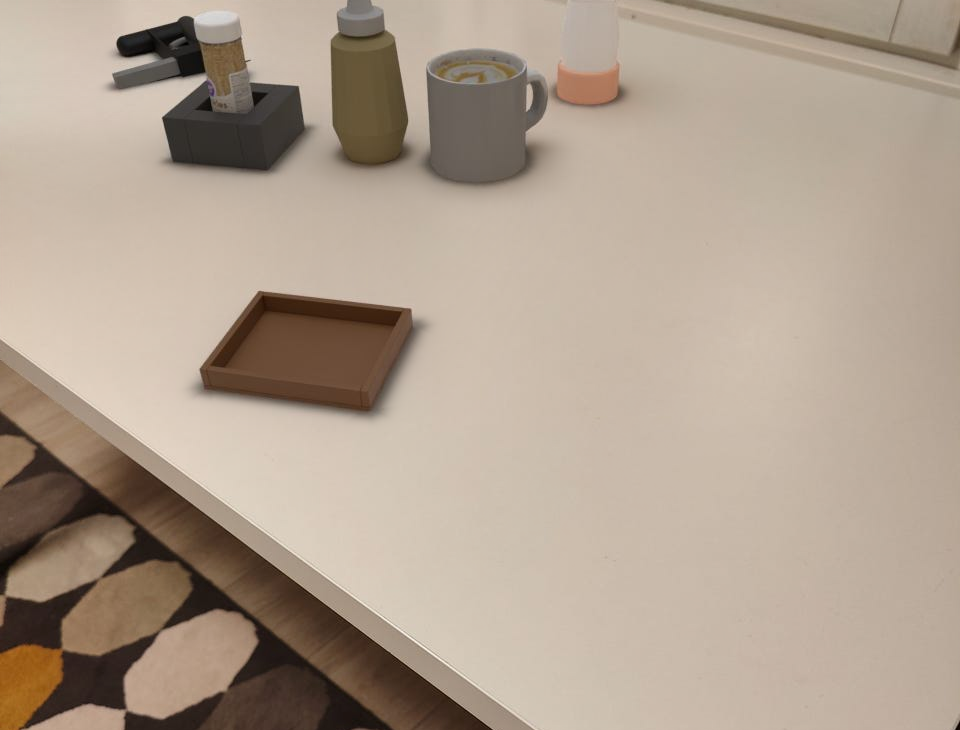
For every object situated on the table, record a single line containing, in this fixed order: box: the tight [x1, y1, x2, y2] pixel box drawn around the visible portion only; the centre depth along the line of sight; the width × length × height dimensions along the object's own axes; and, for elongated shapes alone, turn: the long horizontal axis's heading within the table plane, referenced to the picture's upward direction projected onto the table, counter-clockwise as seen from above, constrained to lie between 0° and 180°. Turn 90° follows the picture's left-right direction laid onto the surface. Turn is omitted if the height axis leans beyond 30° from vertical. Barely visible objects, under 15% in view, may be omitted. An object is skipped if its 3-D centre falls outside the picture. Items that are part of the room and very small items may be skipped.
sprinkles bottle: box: [193, 10, 254, 114], centre depth 99 cm, size 5×5×14 cm
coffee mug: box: [425, 47, 549, 183], centre depth 97 cm, size 13×10×10 cm
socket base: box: [161, 79, 306, 171], centre depth 102 cm, size 11×11×5 cm
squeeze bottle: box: [330, 0, 409, 165], centre depth 96 cm, size 8×8×18 cm
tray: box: [199, 290, 414, 412], centre depth 74 cm, size 13×11×2 cm
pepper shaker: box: [556, 0, 620, 106], centre depth 107 cm, size 7×7×19 cm
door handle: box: [111, 15, 252, 90], centre depth 121 cm, size 3×20×16 cm
